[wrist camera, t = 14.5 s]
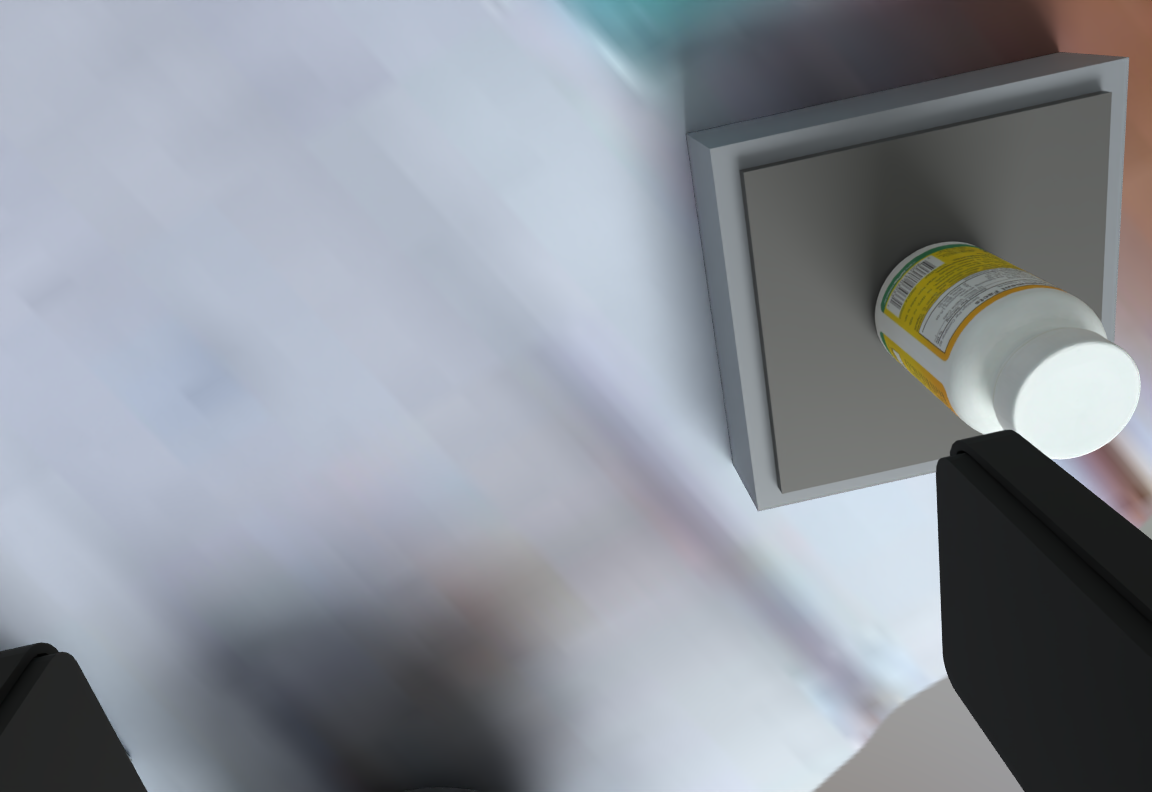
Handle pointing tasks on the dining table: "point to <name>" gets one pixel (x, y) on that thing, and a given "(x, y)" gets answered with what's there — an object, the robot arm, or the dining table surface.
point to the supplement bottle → (1006, 349)
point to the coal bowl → (440, 790)
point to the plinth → (891, 251)
